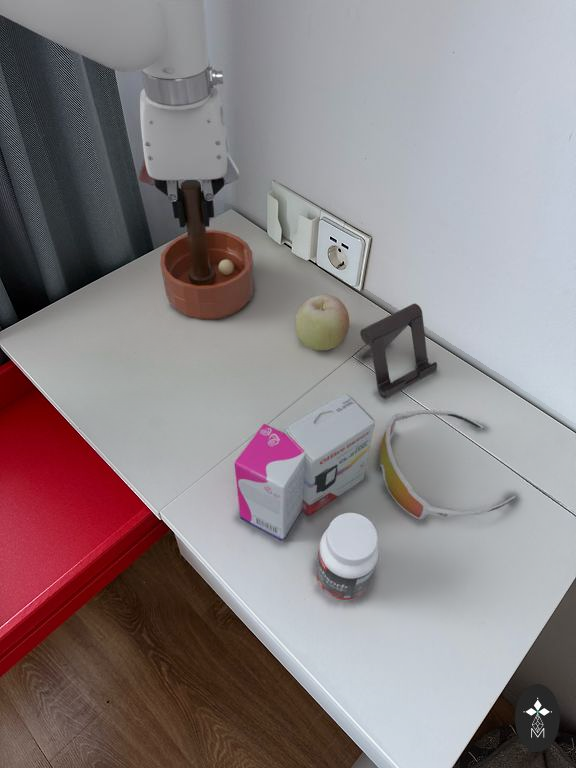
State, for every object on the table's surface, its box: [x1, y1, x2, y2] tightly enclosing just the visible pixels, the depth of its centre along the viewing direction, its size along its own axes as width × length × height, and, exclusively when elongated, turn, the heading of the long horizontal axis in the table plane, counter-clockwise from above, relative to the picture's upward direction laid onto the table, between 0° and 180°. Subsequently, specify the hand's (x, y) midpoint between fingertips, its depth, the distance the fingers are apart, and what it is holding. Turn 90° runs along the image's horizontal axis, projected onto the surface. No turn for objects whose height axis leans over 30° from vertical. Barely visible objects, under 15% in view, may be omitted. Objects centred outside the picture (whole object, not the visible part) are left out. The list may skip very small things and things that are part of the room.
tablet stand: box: [359, 302, 438, 400], centre depth 75 cm, size 9×8×8 cm
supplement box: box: [233, 423, 306, 542], centre depth 60 cm, size 6×6×12 cm
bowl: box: [159, 229, 255, 321], centre depth 85 cm, size 13×13×6 cm
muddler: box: [180, 180, 216, 286], centre depth 81 cm, size 4×4×16 cm
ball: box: [218, 259, 234, 275], centre depth 89 cm, size 2×2×2 cm
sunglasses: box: [379, 409, 516, 521], centre depth 67 cm, size 14×15×5 cm
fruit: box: [294, 294, 350, 351], centre depth 79 cm, size 8×7×8 cm
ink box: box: [284, 393, 377, 517], centre depth 63 cm, size 9×5×12 cm, turn 126°
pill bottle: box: [315, 512, 380, 602], centre depth 56 cm, size 6×6×10 cm
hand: (195, 220), depth 79 cm, fingers closed on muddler, 2 cm apart
